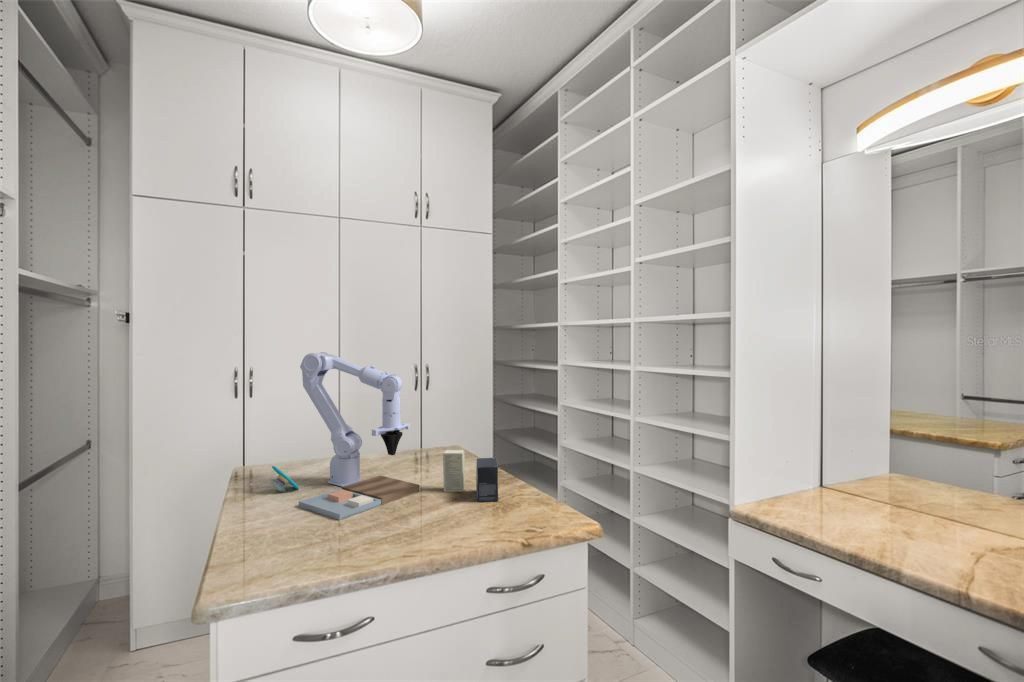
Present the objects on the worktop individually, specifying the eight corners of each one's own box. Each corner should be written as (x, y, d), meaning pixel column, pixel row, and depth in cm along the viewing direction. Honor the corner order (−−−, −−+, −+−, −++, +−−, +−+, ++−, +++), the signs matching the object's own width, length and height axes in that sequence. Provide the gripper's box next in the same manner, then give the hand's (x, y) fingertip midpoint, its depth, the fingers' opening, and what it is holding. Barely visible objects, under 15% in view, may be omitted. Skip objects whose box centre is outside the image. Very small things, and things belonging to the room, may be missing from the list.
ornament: (262, 476, 158) (261, 475, 149) (273, 465, 160) (273, 463, 151) (288, 499, 159) (289, 499, 150) (299, 488, 161) (300, 487, 152)
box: (298, 506, 141) (298, 501, 141) (340, 493, 153) (340, 488, 153) (339, 520, 131) (339, 514, 131) (381, 505, 143) (381, 499, 143)
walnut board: (341, 493, 153) (341, 486, 153) (379, 481, 166) (379, 475, 165) (382, 504, 143) (382, 497, 143) (419, 491, 155) (419, 484, 155)
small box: (475, 491, 156) (476, 457, 156) (496, 490, 157) (497, 457, 156) (476, 502, 145) (476, 466, 145) (498, 502, 146) (499, 466, 146)
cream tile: (347, 505, 142) (347, 499, 142) (361, 500, 146) (361, 495, 146) (359, 508, 139) (358, 503, 139) (373, 503, 143) (373, 498, 143)
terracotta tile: (327, 499, 146) (327, 494, 146) (342, 494, 151) (342, 489, 151) (338, 502, 144) (338, 497, 144) (353, 497, 148) (353, 492, 148)
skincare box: (465, 488, 159) (465, 449, 159) (463, 492, 154) (463, 453, 154) (445, 487, 159) (445, 449, 159) (442, 492, 155) (442, 452, 155)
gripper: (382, 416, 155) (382, 460, 155) (416, 410, 166) (416, 451, 167) (367, 414, 159) (367, 457, 159) (401, 409, 171) (401, 449, 171)
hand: (391, 454), depth 163 cm, fingers closed
